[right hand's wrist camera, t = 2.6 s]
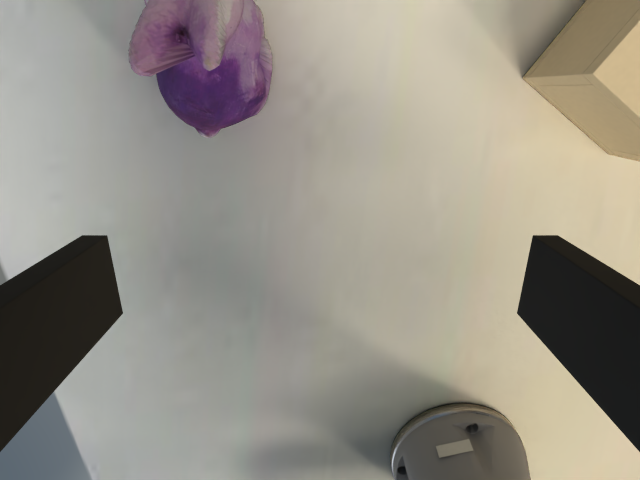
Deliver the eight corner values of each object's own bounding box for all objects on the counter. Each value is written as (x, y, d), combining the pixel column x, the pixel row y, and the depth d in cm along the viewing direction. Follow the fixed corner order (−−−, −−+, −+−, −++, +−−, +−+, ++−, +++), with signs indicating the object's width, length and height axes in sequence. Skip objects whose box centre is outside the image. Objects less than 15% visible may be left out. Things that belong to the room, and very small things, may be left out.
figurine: (237, -44, 29) (163, -166, 15) (305, 85, 33) (294, 83, 19) (136, 25, 31) (-16, -29, 17) (210, 141, 34) (134, 178, 20)
